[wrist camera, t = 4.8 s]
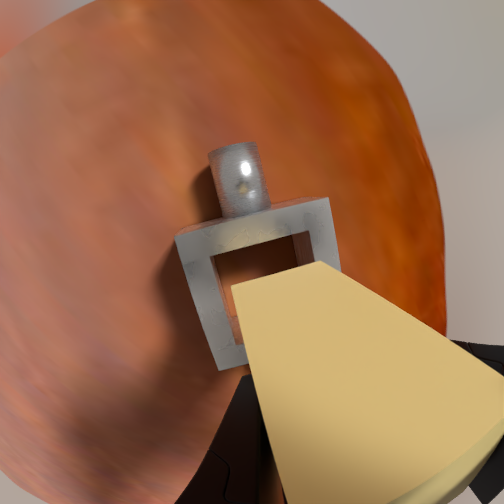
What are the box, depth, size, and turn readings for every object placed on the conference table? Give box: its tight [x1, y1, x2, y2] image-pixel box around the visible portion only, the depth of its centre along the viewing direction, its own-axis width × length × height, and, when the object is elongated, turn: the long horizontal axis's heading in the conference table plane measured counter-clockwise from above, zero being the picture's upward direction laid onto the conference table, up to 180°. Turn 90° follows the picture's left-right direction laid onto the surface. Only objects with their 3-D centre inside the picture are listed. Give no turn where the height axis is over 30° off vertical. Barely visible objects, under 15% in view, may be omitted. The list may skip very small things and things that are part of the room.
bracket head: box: [174, 142, 341, 371], centre depth 17 cm, size 16×8×4 cm, turn 14°
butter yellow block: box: [231, 260, 504, 504], centre depth 7 cm, size 4×4×10 cm
